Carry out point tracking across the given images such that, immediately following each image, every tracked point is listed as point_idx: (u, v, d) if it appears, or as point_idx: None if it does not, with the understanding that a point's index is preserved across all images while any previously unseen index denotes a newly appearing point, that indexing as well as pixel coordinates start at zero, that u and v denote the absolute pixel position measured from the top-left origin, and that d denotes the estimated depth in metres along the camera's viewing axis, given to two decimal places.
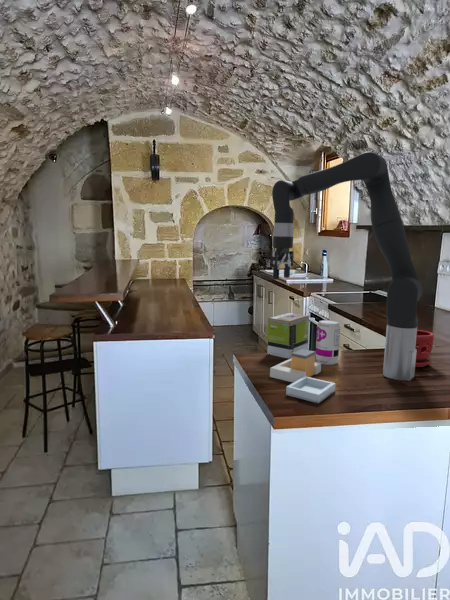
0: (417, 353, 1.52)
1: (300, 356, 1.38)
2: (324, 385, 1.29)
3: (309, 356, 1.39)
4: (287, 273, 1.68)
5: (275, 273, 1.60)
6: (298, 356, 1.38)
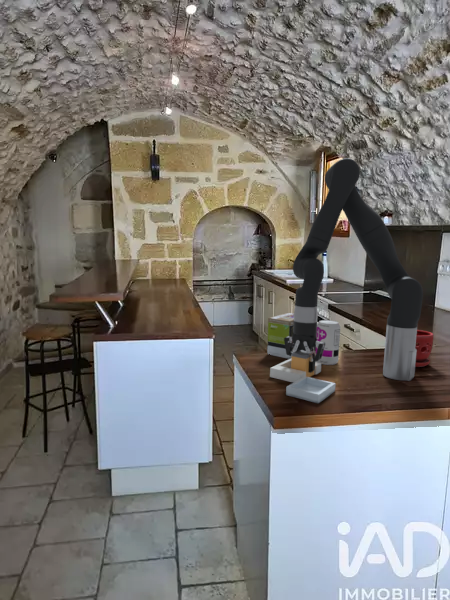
0: (417, 353, 1.52)
1: (300, 356, 1.38)
2: (324, 385, 1.29)
3: None
4: None
5: (314, 366, 1.39)
6: (298, 356, 1.38)
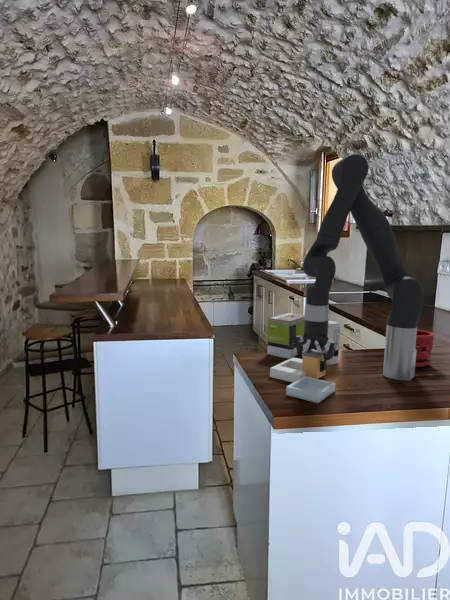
0: (417, 353, 1.52)
1: (311, 355, 1.36)
2: (324, 385, 1.29)
3: None
4: None
5: (325, 365, 1.37)
6: (309, 355, 1.36)
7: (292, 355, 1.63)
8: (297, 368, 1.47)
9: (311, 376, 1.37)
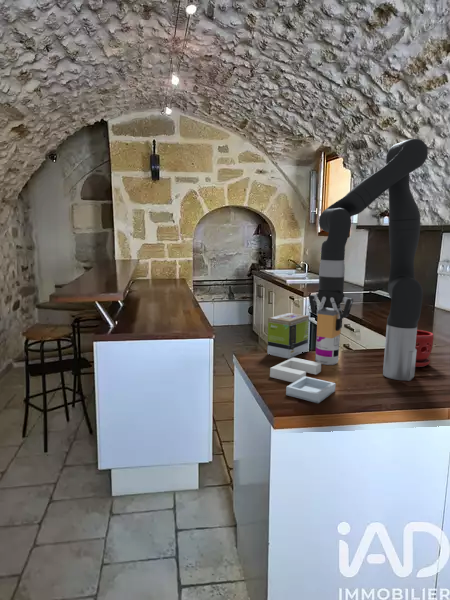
0: (417, 353, 1.52)
1: (327, 313, 1.31)
2: (324, 385, 1.29)
3: None
4: None
5: (341, 323, 1.33)
6: (325, 313, 1.31)
7: (292, 355, 1.63)
8: (297, 368, 1.47)
9: (327, 335, 1.32)
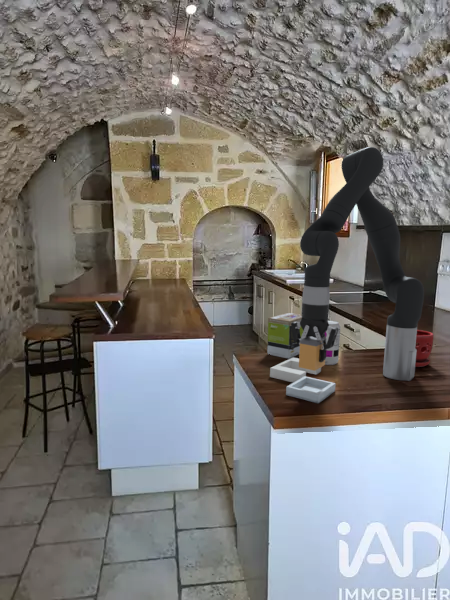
0: (417, 353, 1.52)
1: (310, 343, 1.21)
2: (324, 385, 1.29)
3: None
4: None
5: (325, 354, 1.23)
6: (307, 343, 1.22)
7: (292, 355, 1.63)
8: (297, 368, 1.47)
9: (309, 366, 1.22)
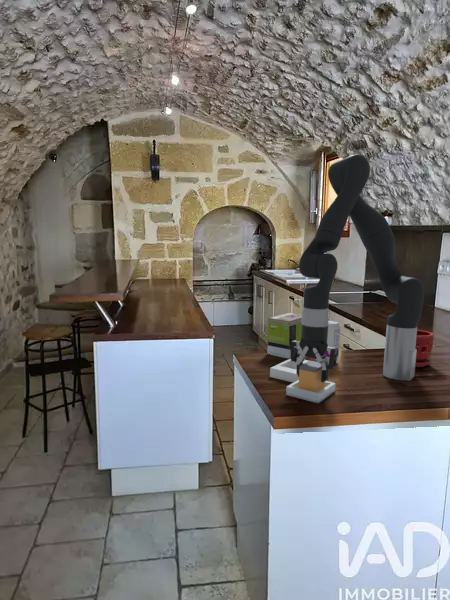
0: (417, 353, 1.52)
1: (309, 369, 1.22)
2: (324, 385, 1.29)
3: (319, 369, 1.23)
4: None
5: (327, 374, 1.23)
6: (307, 369, 1.22)
7: None
8: None
9: None
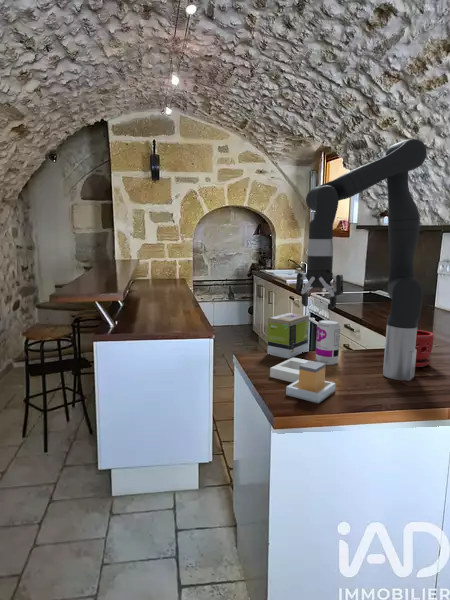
0: (417, 353, 1.52)
1: (309, 369, 1.22)
2: (324, 385, 1.29)
3: (319, 369, 1.23)
4: (307, 300, 1.35)
5: (335, 301, 1.30)
6: (307, 369, 1.22)
7: (292, 355, 1.63)
8: (297, 368, 1.47)
9: None
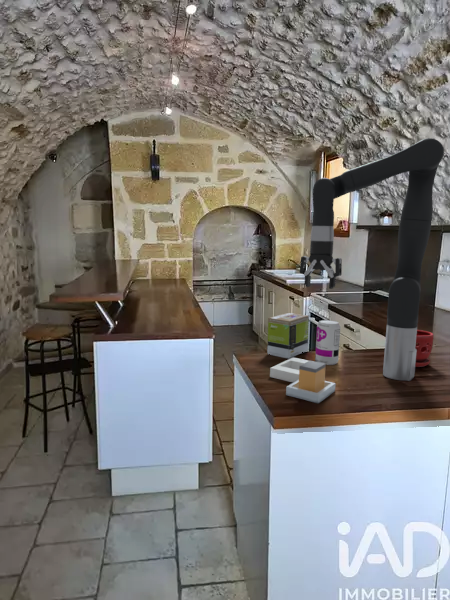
0: (417, 353, 1.52)
1: (309, 369, 1.22)
2: (324, 385, 1.29)
3: (319, 369, 1.23)
4: (309, 281, 1.50)
5: (334, 282, 1.45)
6: (307, 369, 1.22)
7: (292, 355, 1.63)
8: (297, 368, 1.47)
9: None
